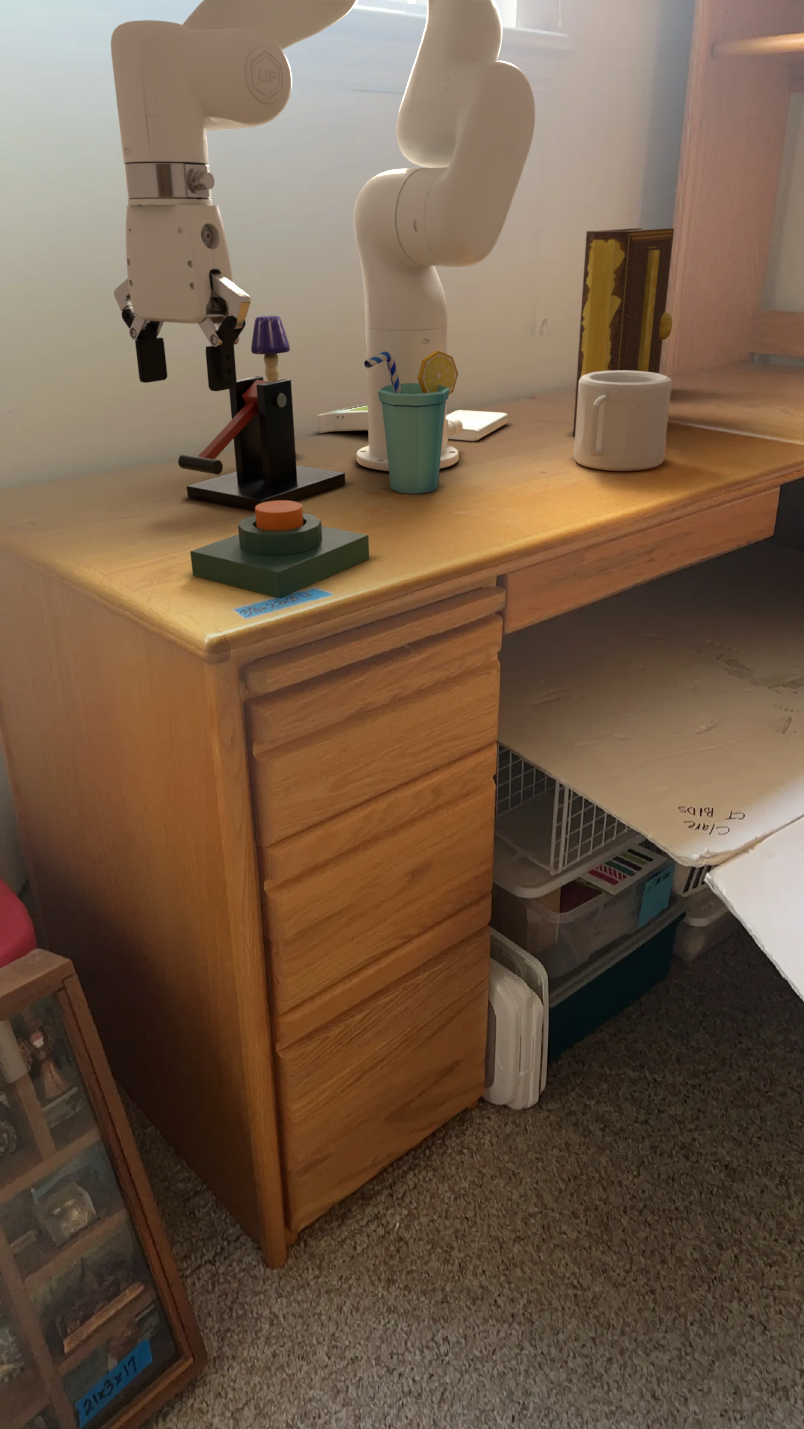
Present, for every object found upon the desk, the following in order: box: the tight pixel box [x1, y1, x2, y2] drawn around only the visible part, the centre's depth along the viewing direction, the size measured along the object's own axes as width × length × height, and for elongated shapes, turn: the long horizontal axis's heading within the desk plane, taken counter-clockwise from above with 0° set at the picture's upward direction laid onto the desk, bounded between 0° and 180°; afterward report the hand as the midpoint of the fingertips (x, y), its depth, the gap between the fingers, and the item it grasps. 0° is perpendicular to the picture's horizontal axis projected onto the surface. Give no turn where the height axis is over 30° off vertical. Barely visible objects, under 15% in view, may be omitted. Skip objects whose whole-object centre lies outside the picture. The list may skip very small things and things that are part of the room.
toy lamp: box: [250, 315, 297, 458], centre depth 120 cm, size 5×5×17 cm
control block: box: [189, 512, 370, 599], centre depth 85 cm, size 12×10×4 cm
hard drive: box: [446, 409, 509, 442], centre depth 138 cm, size 2×8×12 cm
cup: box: [363, 351, 459, 495], centre depth 106 cm, size 14×8×15 cm, turn 143°
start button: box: [254, 500, 304, 530], centre depth 84 cm, size 4×4×2 cm
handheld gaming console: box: [316, 405, 368, 434], centre depth 137 cm, size 11×3×15 cm
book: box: [572, 227, 675, 437], centre depth 135 cm, size 22×8×25 cm, turn 151°
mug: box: [573, 370, 673, 472], centre depth 116 cm, size 14×11×10 cm
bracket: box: [186, 375, 346, 512], centre depth 107 cm, size 14×11×12 cm
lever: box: [177, 380, 271, 476], centre depth 103 cm, size 13×5×2 cm, turn 145°
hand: (187, 384), depth 97 cm, fingers open, 9 cm apart
